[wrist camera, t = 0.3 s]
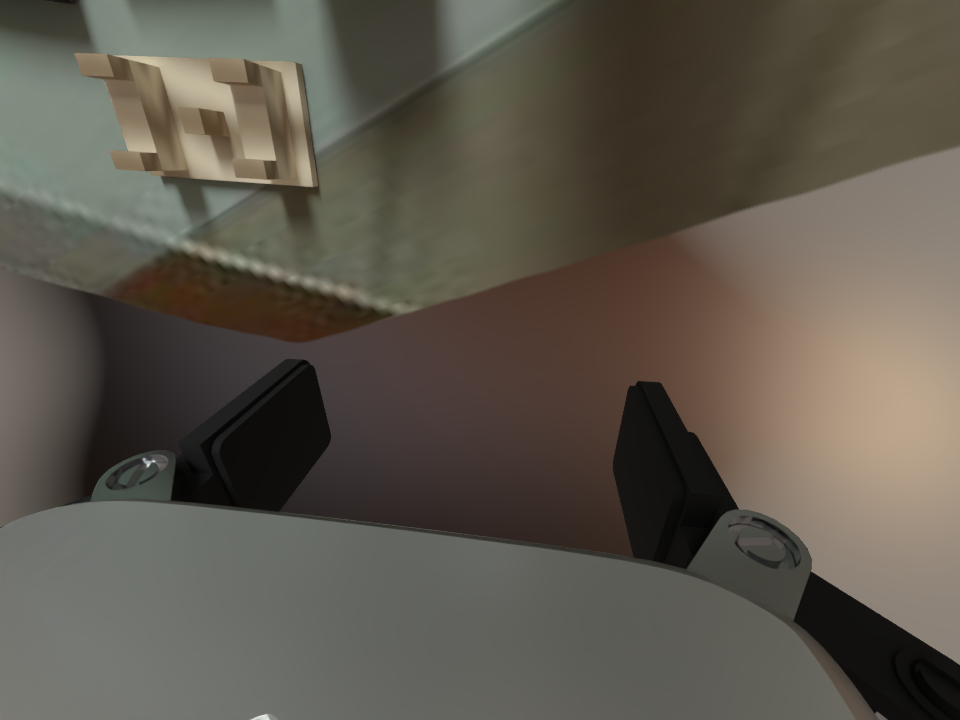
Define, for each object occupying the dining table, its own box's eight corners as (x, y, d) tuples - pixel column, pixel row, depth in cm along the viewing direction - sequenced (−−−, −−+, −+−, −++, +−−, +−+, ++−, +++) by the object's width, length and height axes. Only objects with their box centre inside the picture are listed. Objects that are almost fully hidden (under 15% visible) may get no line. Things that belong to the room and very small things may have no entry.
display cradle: (123, 57, 36) (53, 40, 30) (301, 64, 34) (259, 47, 29) (160, 175, 40) (105, 177, 35) (318, 186, 38) (284, 190, 33)
